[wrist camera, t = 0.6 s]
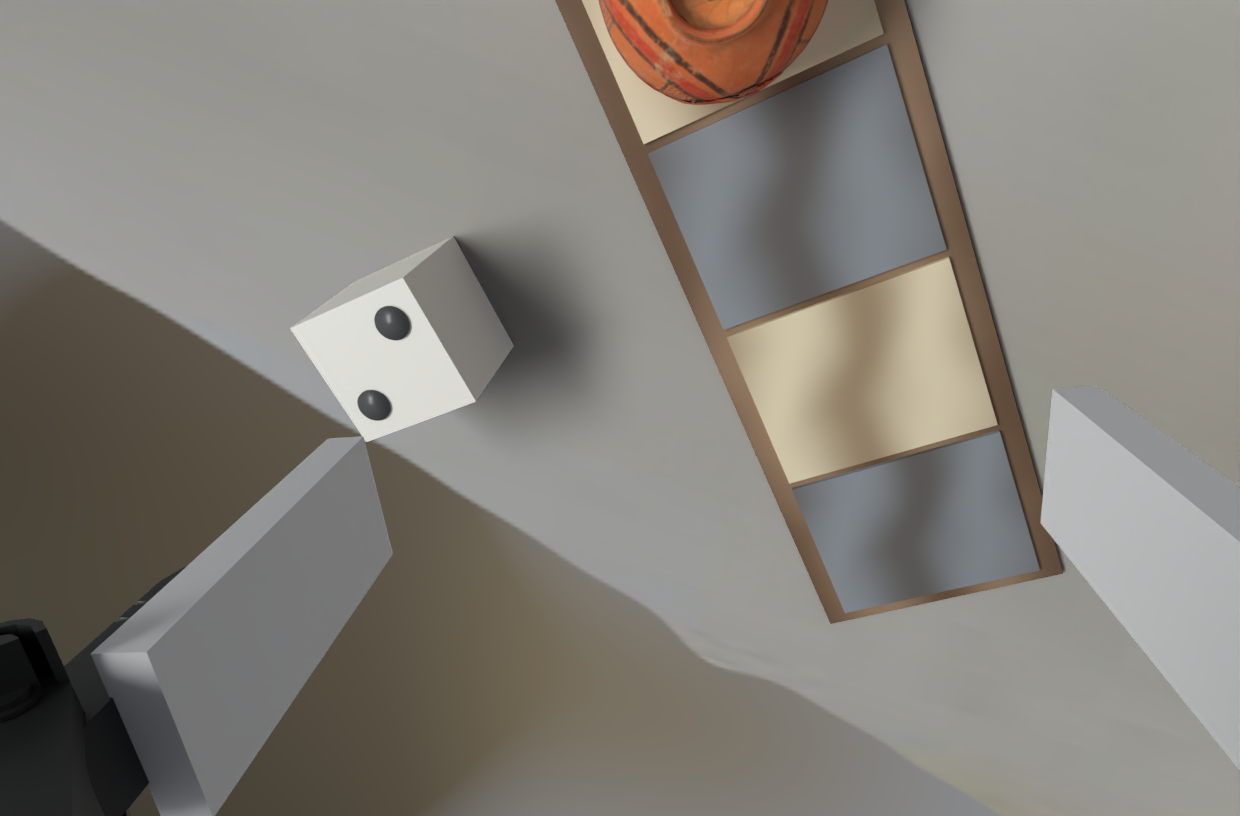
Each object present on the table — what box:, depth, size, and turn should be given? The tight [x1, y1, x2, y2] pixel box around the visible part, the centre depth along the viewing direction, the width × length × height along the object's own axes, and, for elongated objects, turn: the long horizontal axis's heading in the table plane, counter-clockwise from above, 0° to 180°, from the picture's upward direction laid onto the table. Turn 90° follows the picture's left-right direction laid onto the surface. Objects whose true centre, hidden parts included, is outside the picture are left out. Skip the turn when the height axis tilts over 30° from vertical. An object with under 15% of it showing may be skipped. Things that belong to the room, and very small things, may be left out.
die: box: [290, 236, 514, 442], centre depth 36 cm, size 6×6×6 cm
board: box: [556, 0, 1063, 624], centre depth 34 cm, size 12×37×1 cm, turn 25°
